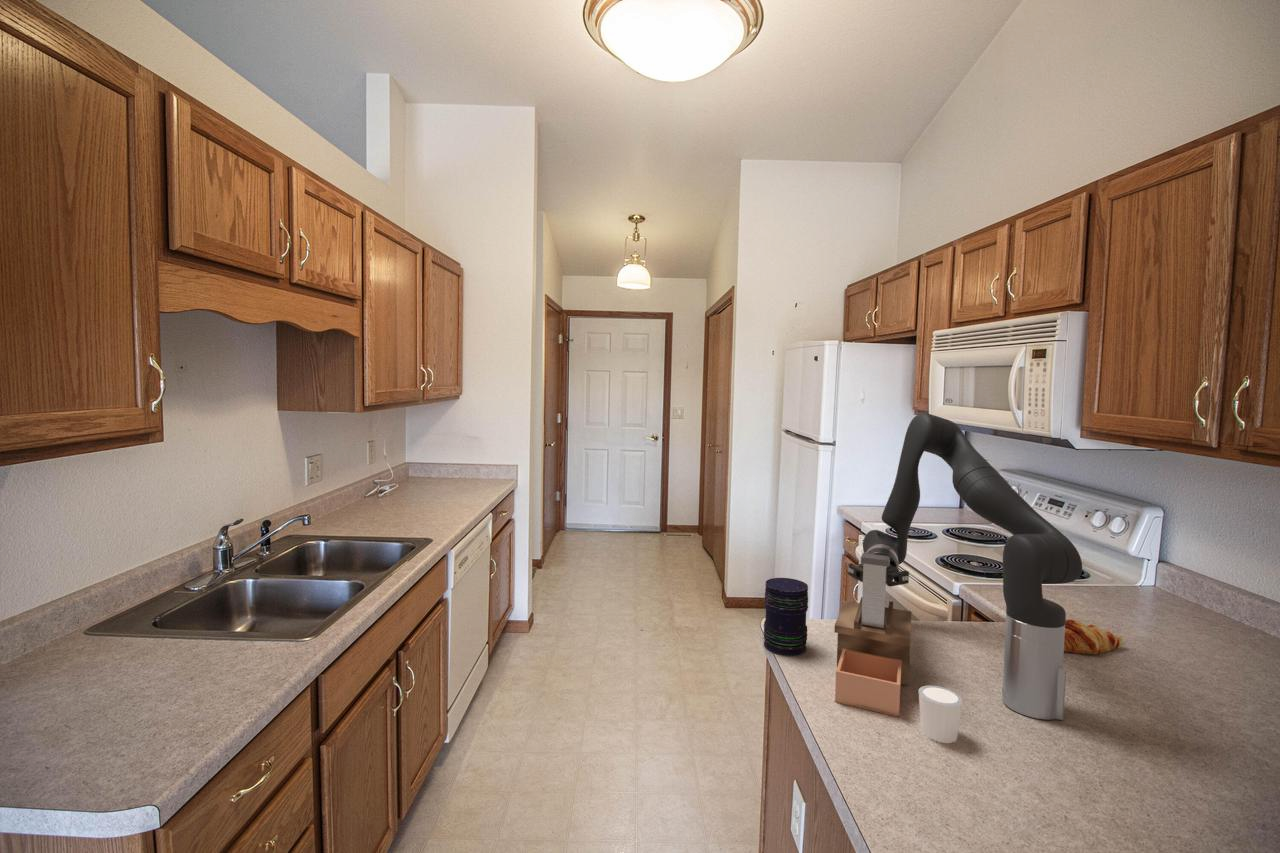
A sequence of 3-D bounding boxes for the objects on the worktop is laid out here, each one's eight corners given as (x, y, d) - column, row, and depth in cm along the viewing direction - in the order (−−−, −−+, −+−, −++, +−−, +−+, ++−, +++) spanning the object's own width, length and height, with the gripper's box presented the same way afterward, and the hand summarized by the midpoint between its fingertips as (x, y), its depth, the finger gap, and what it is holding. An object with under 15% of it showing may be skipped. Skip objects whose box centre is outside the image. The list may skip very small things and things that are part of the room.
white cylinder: (967, 748, 95) (969, 707, 95) (923, 742, 96) (924, 702, 96) (953, 725, 102) (955, 687, 101) (912, 720, 103) (913, 682, 103)
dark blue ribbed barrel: (759, 651, 130) (761, 587, 129) (766, 635, 139) (768, 575, 138) (804, 659, 126) (806, 594, 126) (808, 642, 136) (810, 580, 135)
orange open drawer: (900, 689, 114) (901, 660, 114) (898, 717, 104) (900, 685, 104) (842, 676, 119) (843, 648, 119) (834, 701, 109) (835, 671, 109)
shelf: (909, 665, 125) (911, 604, 124) (908, 699, 110) (910, 631, 110) (842, 651, 131) (844, 594, 130) (832, 682, 116) (834, 618, 116)
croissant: (1110, 656, 138) (1099, 622, 142) (1145, 654, 129) (1133, 617, 132) (1025, 655, 138) (1016, 620, 141) (1054, 652, 128) (1044, 615, 132)
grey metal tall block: (887, 623, 117) (889, 556, 116) (886, 629, 113) (888, 560, 113) (860, 618, 119) (862, 552, 118) (858, 624, 116) (860, 557, 115)
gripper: (851, 543, 135) (841, 562, 120) (912, 551, 129) (911, 571, 114) (850, 574, 136) (840, 597, 120) (911, 583, 130) (909, 608, 114)
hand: (875, 584), depth 117 cm, fingers closed
